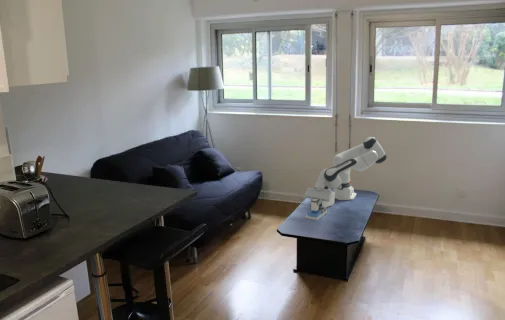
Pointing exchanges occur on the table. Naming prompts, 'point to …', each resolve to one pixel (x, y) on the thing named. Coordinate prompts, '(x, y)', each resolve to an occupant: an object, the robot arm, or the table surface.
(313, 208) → the plug
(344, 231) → the table surface
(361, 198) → the table surface
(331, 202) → the cable organizer
